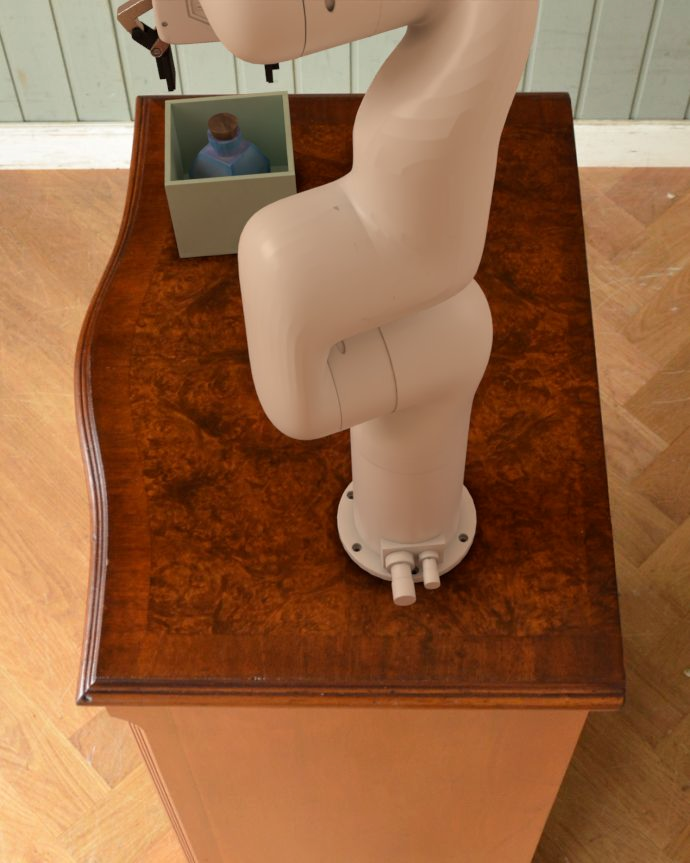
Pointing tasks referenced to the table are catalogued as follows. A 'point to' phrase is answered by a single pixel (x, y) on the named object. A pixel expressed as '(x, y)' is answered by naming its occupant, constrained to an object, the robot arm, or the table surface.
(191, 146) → the waste bin
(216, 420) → the table surface
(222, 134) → the perfume bottle
